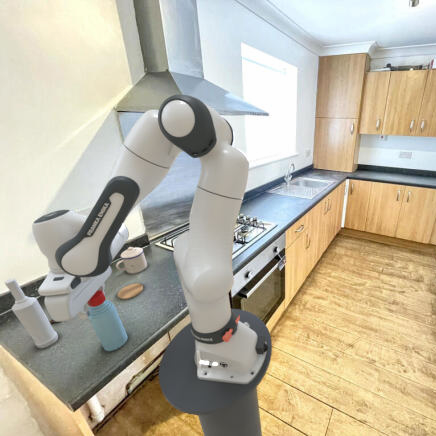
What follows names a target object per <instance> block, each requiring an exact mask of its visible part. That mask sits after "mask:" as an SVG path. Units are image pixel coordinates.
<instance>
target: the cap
mask: <svg viewBox="0 0 436 436" xmlns="http://www.w3.org/2000/svg"><path fill="white" fill-rule="evenodd" d="M104 293H105V292H104ZM104 293H103V292H102V291H101V290H98V291H96V293H95V294H94V295H93V296H92V297H91V298H90V300H89V301H88V302H87V303H86V304H87V306H89V308H90V307H95V306H98V305H100V304H102V303H103V302H104V301H105V300H106V295H105V296H104Z"/></svg>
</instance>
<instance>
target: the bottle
mask: <svg viewBox="0 0 436 436" xmlns="http://www.w3.org/2000/svg"><path fill="white" fill-rule="evenodd" d="M4 284H5V286H6V288H7V289H8V290H9V292H10V293H11V295H12V296H13V298H14V304H13V305H12V307H11V311H12V312H13V313H14V315H15V316H16V318H17V319H18V320H19V321H20V323H21V324H22V326H23V327H24V329H25V330H26V332H27V333H28V334H29V335H30V337H31V339H32V340H33V342H34V344H35V346H36V348H38V349H45V348H48V347H50V346H52V345H53V344H55V343H56V342H57V341H58V339H59V335H58V333H57V331H55V330H54V328H53V325H52V324H50V322H49V321H50V320H49V319H48V317H47V315H46V313H45V312H44V309H43V308H42V306H41V304H40V302H39V300H38V299H37V297H32V296H31V297H29V296H27V295H26V294H25V293H24V291H23V289H22V288H21V287H20V285H19V283H18V281H17V280H16V278H10V279H7V280H5V281H4Z"/></svg>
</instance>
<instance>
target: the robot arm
mask: <svg viewBox="0 0 436 436" xmlns="http://www.w3.org/2000/svg"><path fill="white" fill-rule="evenodd" d="M235 139H236V138H235V132H234V130H233V127H232V125H231V124H230V122H229V121H228V120H227V119H226V118H224V117H223V116H221V114H220V113H219V112H218V111H217V110H216V109H214V108H213V107H211V106H210V105H208V104H206V103H204V102H203V101H202V100H200V99H199V98H197V97H194V96H192V95H188V94H173V95H171V96H169V97H167V98H165V99H164V100H163V102H162V103H161V104H160V107H159V108H158V109H149V110H147V111H145V112H143V114H142V115H141V116H140V117H139V119H137V121H136V122H135V123H134V125H133V126H132V128H131V129H130V131H128V133H127V135H126V137H125V138H124V140H123V143H122V145H121V146H120V149H119V151H118V153H117V155H116V158H115V160H114V162H113V164H112V168H111V170H110V173H109V174H108V178H107V180H106V182H105V184H104V187H103V189H102V191H101V193H100V195H99V197H98V199H97V200H96V202H95V203H94V205H93V207H92V209H91V211H90V212H89V214H88V215H84V214H81V213H78V212H75V210H72V209H59V210H55V211H52V212H50V213H47V214H44V215H42V216H40V217H38V218H37V219H35V220H34V222H33V223H32V224H31V228H32V234H33V237H34V240H35V242H36V244H37V246H38V249H39V251H40V252H41V254H42V255H43V256H45V258H46V259H47V265H48V267H49V271H48V272H47V275H46V277H45V279H44V280H43V282H42V284H40V286H39V288H38V289H37V292H38V294H39V296H41V297H44V306H45V308H46V310H47V312H48V314H49V316H50V317H51V320H54V321H59V322H67V321H72V320H74V319H75V317H76V316H78V318H79V319H80V320H87V319H89V318H88V317H89V315H90V313H89V309H88V310H85V306H86V305H87V304H88V303H87V302H88V301H89V300H90V298H91V297H92V296H93V295H94V294H95V293H96V291H98V290H101V291H102V292H103V293H104V296H105V297H106V293H105V286H106V285H105V284H106V283H105V282H106V281H107V280H108V279H109V278H110V276H111V275H112V272H113V271H112V267H111V264H112V262H113V260H114V259H115V257H116V256H117V255H118V254H119V252H120V251H121V249H122V248H123V247H124V245H125V244H126V242H127V241H128V240H129V237H130V235H129V234H130V233H129V229H128V227H127V226H126V225H125V224H124V223H125V222H126V220H127V218H128V216H129V215H130V213H131V212H132V211H133V210H134V209H135V208H136V207H137V206H138V205H139V204H140V203H141V202H142V201H143V200H144V199H145V198H147V197H148V196H149V195H150V194H151V193H152V192H153V191H154V190H155V189H156V188H157V187H159V185H160V184H161V183H162V182H163V181H164V180H165V178H167V176H168V174H169V173H170V171H171V169H172V168H173V166H174V164H175V162H176V160H177V158H179V156H180V155H181V154H182V153H185V154H187V156H189V157H191V158H193V159H198V160H199V162H200V166H201V168H200V174H199V178H198V182H197V185H196V189H195V193H194V197H193V200H192V205H191V209H190V213H189V216H188V219H189V221H188V223H189V227H188V228H189V229H188V230H187V231H185V232H182V233H181V234H180V235H179V236H178V237H177V238H176V239H175V241H174V244H173V251H172V252H173V253H172V254H173V256H172V257H173V260H174V264H175V268H176V271H177V275H178V278H179V282H180V285H181V288H182V293H183V297H184V299H185V303H186V306H187V310H188V314H189V318H190V322H191V332H192V334H193V337H194V338H195V356H194V359H195V363H196V365H197V376H198V379H200V380H209V381H219V382H228V383H237V384H248V383H250V382H251V381H252V380H253V379H254V378H255V377H256V375H257V374H258V372H259V371H260V369H261V367H262V365H263V362H264V360H265V357H266V353H267V350H268V345H267V344H266V341H265V336H263V335H258V336H257V334H256V333H255V332H254V331H253V330H252V329H250V328H249V327H250V325H249V324H248V323H247V322H245V323H244V324H243V323H242V322H240V321H239V319H240V315H239V316H238V318H236V316H235V314H234V313H233V311H232V309H233V308H231V303H230V295H229V293H230V292H231V290H232V288H233V286H234V282H235V277H234V269H233V253H234V252H233V251H234V239H235V230H236V225H237V221H238V217H239V213H240V210H241V207H242V204H243V200H244V197H245V194H246V189H247V184H248V180H249V172H250V160H249V158H248V156H247V155H246V154H245V152H243V151H242V150H241V149H239V148H238V147H236V146H234V144H235ZM252 373H254V374H253V375H251V374H252ZM205 374H207V375H205Z"/></svg>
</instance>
